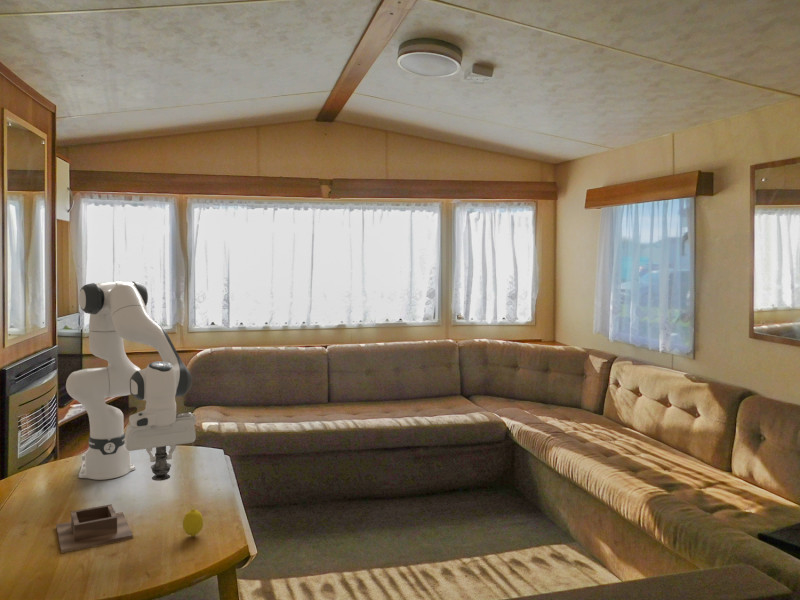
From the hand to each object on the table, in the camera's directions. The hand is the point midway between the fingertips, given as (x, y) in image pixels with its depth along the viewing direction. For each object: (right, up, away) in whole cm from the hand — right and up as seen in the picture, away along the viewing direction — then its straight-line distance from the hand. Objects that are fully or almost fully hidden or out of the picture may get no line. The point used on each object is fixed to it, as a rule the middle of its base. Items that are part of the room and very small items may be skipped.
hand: (160, 460), depth 192 cm
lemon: (+14, -19, -11) cm, 26 cm away
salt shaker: (0, -6, 0) cm, 6 cm away
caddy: (-15, -18, -11) cm, 26 cm away
